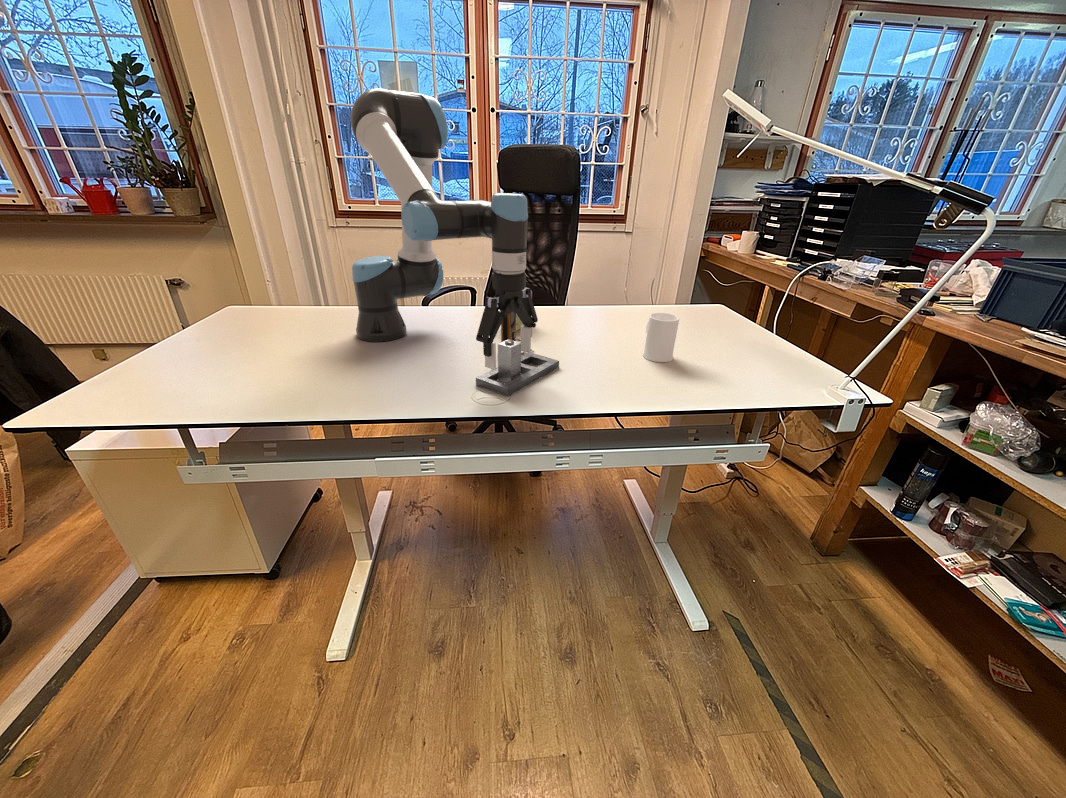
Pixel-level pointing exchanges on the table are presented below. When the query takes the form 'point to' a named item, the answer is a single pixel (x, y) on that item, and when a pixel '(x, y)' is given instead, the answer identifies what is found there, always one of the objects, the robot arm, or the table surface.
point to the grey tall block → (509, 361)
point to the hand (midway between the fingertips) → (508, 359)
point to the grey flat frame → (522, 381)
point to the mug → (660, 337)
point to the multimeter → (509, 328)
